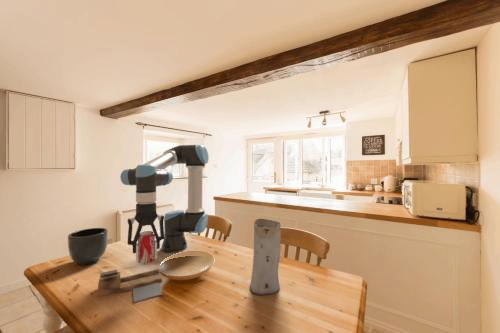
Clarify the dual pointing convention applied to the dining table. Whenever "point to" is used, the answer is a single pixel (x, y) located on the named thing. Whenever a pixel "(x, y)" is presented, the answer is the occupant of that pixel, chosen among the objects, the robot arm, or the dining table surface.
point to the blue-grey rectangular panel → (109, 273)
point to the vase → (266, 257)
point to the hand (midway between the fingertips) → (146, 258)
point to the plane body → (113, 282)
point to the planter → (87, 245)
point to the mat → (146, 292)
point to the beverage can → (146, 247)
